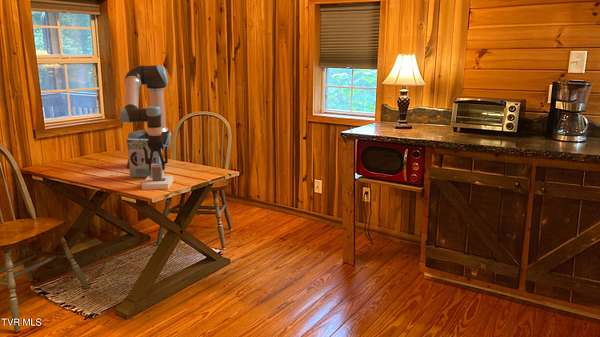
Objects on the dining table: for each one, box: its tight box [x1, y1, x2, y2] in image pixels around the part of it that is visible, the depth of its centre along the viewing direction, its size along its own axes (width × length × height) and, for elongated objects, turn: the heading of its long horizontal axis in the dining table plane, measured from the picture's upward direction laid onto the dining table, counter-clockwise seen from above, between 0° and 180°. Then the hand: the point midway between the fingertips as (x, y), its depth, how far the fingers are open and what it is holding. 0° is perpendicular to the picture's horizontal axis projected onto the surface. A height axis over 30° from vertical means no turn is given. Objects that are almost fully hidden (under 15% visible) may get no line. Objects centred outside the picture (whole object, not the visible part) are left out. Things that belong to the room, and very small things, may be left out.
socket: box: [141, 175, 174, 191], centre depth 274 cm, size 18×14×4 cm
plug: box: [152, 164, 163, 181], centre depth 273 cm, size 4×4×10 cm
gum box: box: [126, 138, 165, 179], centre depth 289 cm, size 20×5×23 cm, turn 81°
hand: (157, 175), depth 273 cm, fingers closed on plug, 4 cm apart
